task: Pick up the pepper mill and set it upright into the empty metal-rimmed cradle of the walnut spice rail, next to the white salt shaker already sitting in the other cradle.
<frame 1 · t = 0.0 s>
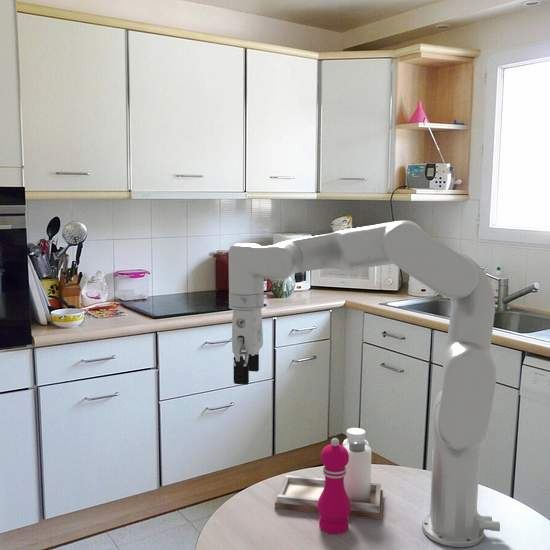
hand: (246, 377, 138), 31 cm above the table, tool pointing down, fingers open, 9 cm apart
supplement bottle: (355, 480, 157), on the table
spice rail: (329, 502, 146), on the table
pepper mill: (333, 527, 136), on the table
salt shaker: (355, 498, 145), resting on spice rail
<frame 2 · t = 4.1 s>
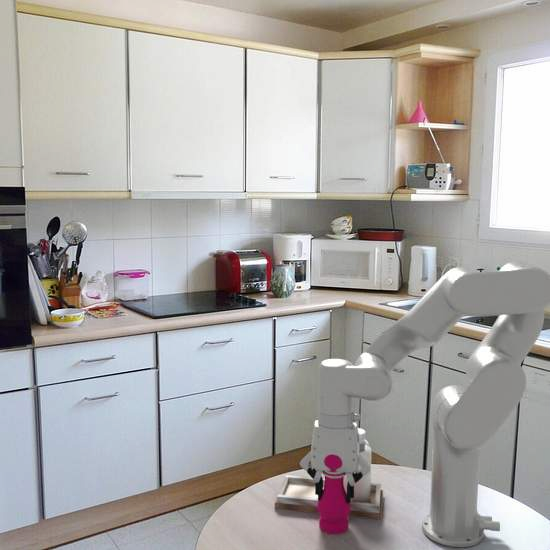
hand: (334, 498, 135), 7 cm above the table, tool pointing down, fingers closed on pepper mill, 5 cm apart
pepper mill: (333, 527, 136), on the table, touching gripper
everything else where it was.
when the fingers open (10 cm above the table, at t = 10.9 s): pepper mill drops 2 cm, resting on spice rail.
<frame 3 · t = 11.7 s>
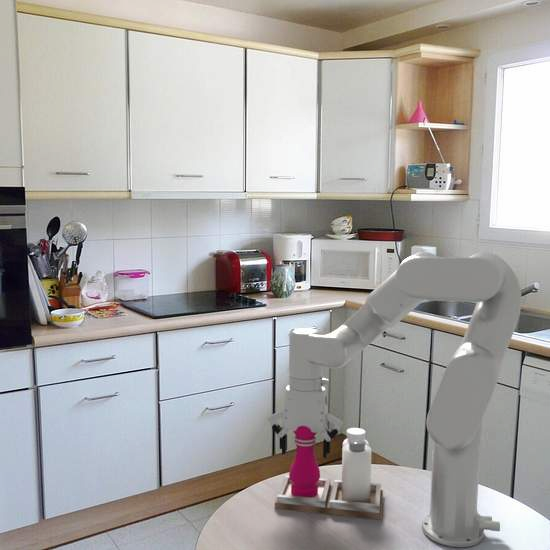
hand: (304, 453, 146), 11 cm above the table, tool pointing down, fingers open, 9 cm apart
pepper mill: (304, 493, 147), point 2 cm above the table, touching spice rail
everything else where it was.
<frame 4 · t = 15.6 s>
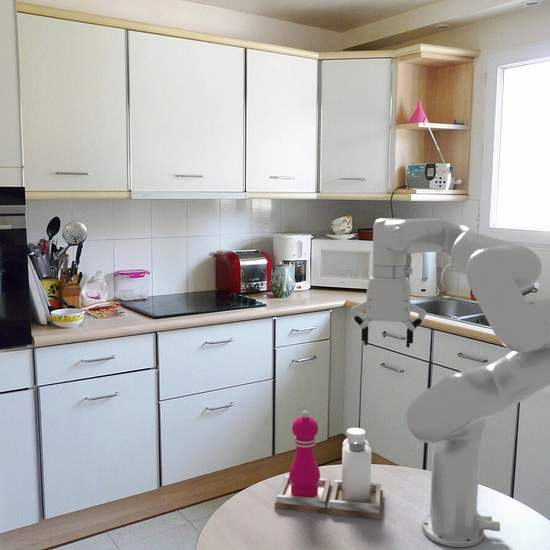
hand: (386, 345, 146), 36 cm above the table, tool pointing down, fingers open, 9 cm apart
nothing on the table moved.
at the end: pepper mill 0.1 cm from the target spot on the spice rail, point 1.5 cm above the spice rail's base; pepper mill tilted 0°; the gripper is holding nothing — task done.
